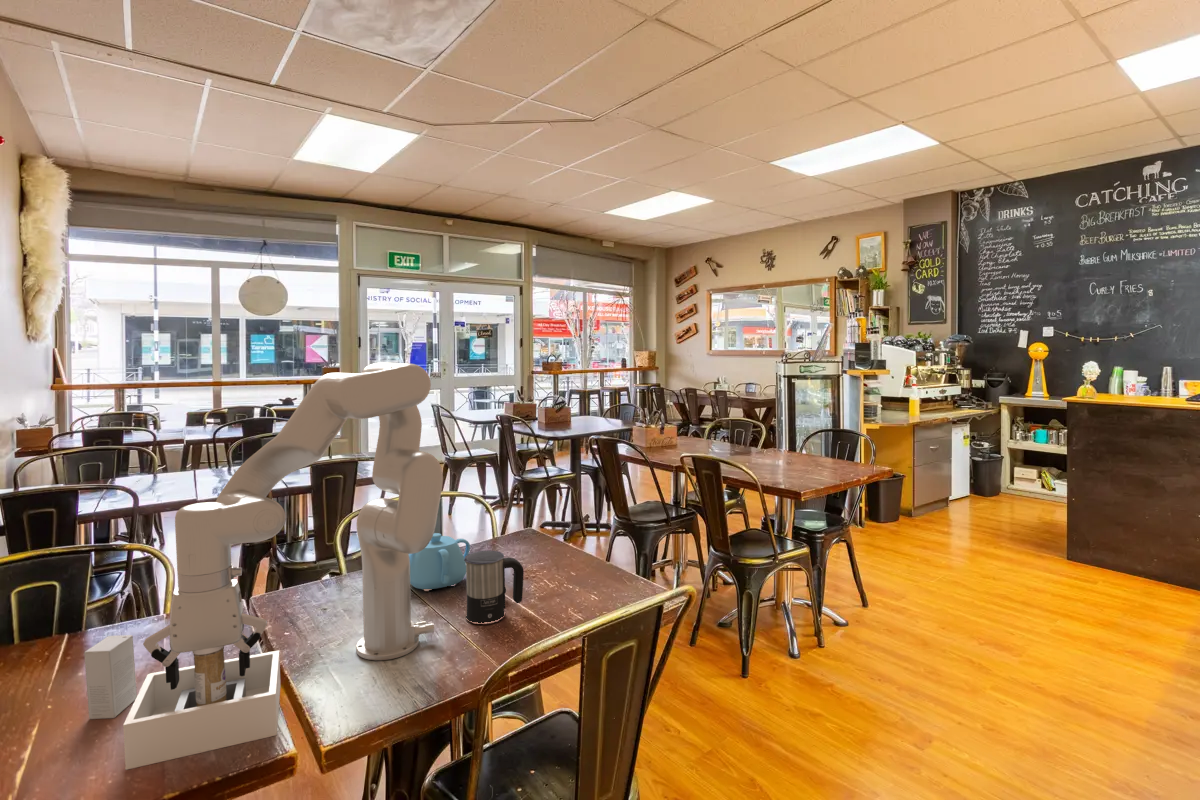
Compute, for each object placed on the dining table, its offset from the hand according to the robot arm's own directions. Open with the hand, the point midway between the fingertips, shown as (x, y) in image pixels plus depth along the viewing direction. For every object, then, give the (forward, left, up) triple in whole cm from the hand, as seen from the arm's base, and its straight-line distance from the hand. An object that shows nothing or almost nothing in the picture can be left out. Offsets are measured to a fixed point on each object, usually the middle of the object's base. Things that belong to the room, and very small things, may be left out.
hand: (209, 678), depth 103 cm
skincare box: (+16, -12, -8) cm, 22 cm away
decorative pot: (-46, -48, -8) cm, 67 cm away
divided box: (0, 0, -8) cm, 8 cm away
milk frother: (-54, -25, -8) cm, 60 cm away
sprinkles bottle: (0, 0, -7) cm, 7 cm away
